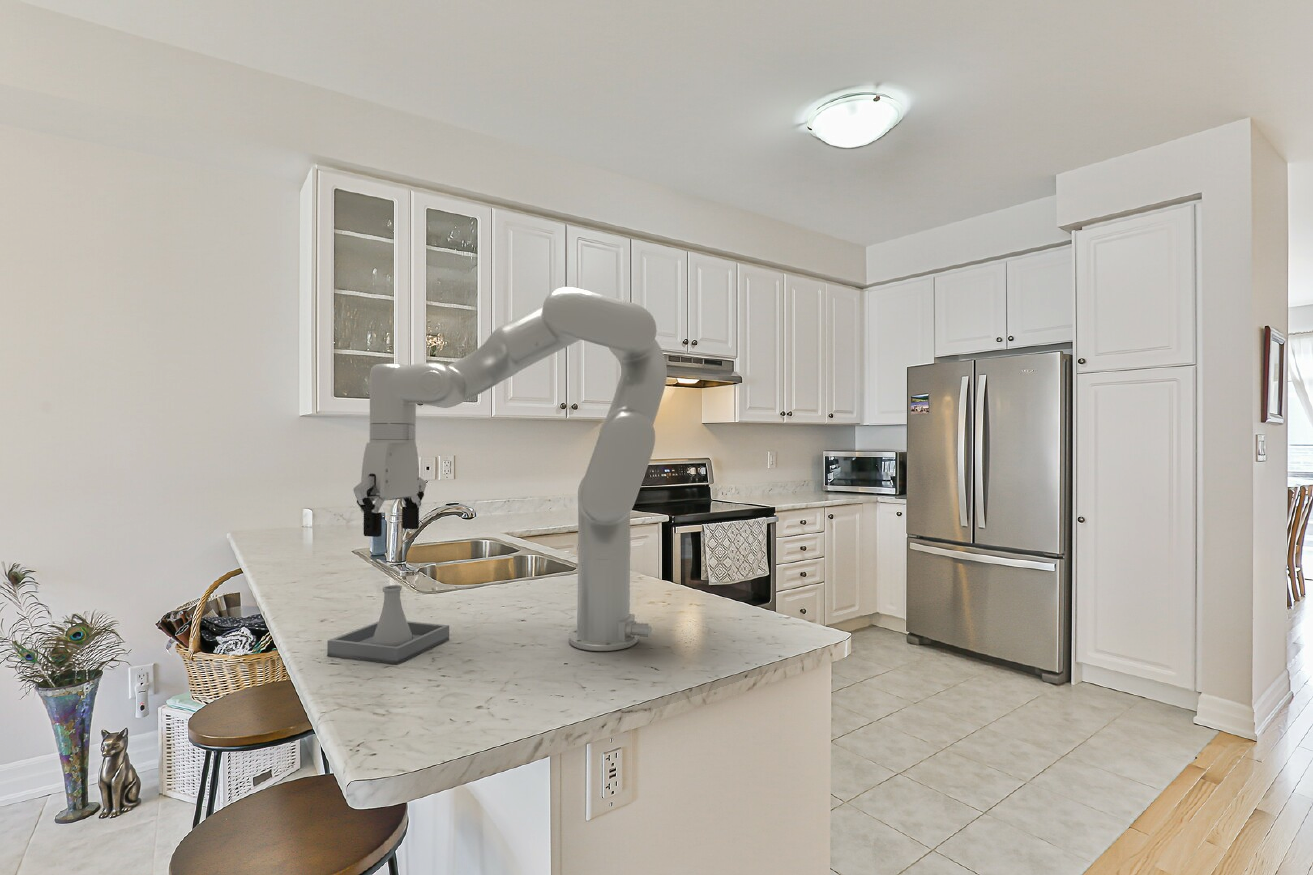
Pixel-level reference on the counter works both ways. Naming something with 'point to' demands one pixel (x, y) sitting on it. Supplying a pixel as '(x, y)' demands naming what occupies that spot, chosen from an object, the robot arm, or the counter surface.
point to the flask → (392, 620)
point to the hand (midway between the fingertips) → (392, 532)
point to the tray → (362, 649)
